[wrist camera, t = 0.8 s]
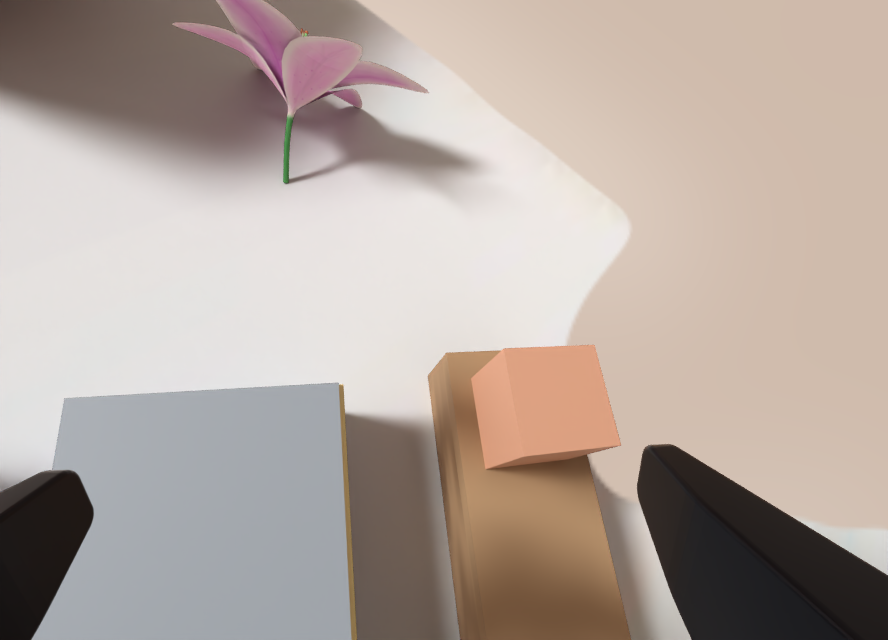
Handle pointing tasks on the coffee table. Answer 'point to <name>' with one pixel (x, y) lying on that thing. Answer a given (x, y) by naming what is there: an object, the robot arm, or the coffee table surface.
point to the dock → (209, 517)
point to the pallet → (519, 531)
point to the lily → (297, 58)
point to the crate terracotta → (542, 406)
